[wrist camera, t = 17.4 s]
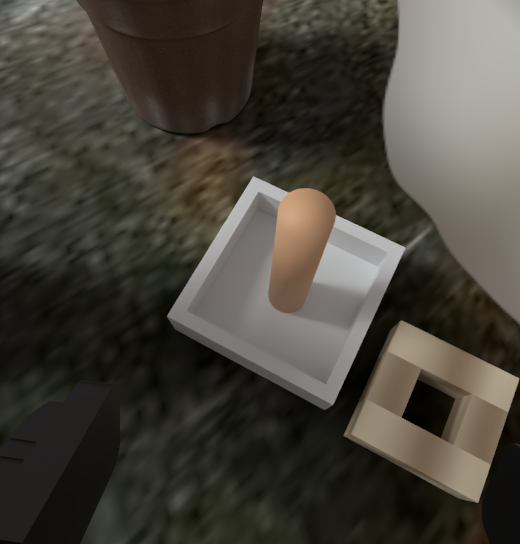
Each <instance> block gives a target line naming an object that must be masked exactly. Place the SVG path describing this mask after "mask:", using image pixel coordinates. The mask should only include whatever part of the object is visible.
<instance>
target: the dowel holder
mask: <svg viewBox="0 0 520 544" xmlns="http://www.w3.org/2000/svg"><path fill="white" fill-rule="evenodd" d="M417 379H418V380H420V381H422V382H424V383H426V384H428V385H430V386H432V387H434V388H436V389H438V390H439V391H441V392H443V393H445V394H447V395H449V396H451V397H453V398H455V401H454V404H453V406H452V409H451V412H450V415H449V417H448V420H447V423H446V425H445V428H444V431H443V433H442V436H441V438H439V437H437V436H435V435H433V434H432V433H430V432H428V431H426V430H424V429H422V428H420V427H418V426H416V425H414V424H413V423H411V422H409V421H407V420H405V419H403V418H402V415H403V413H404V410H405V408H406V405H407V403H408V401H409V398H410V396H411V393H412V391H413V388H414V386H415V383H416V381H417ZM518 381H519V378H517V377H515V376H513V375H511V374H509V373H507V372H505V371H503V370H501V369H499V368H497V367H495V366H493V365H491V364H489V363H487V362H485V361H483V360H481V359H479V358H477V357H475V356H473V355H471V354H469V353H467V352H465V351H463V350H461V349H459V348H457V347H455V346H453V345H451V344H449V343H447V342H445V341H443V340H440V339H438V338H436V337H434V336H432V335H430V334H428V333H426V332H424V331H422V330H420V329H418V328H416V327H414V326H412V325H410V324H408V323H406V322H404V321H402V320H401V321H400V322H399V323H398V324H396V325H395V326H394V327H393V328H392V329H391V330H390V332H389V334H388V336H387V339H386V341H385V343H384V345H383V348H382V350H381V352H380V354H379V357H378V359H377V361H376V363H375V366H374V368H373V370H372V372H371V375H370V377H369V379H368V381H367V384H366V386H365V388H364V390H363V393H362V395H361V397H360V399H359V402H358V404H357V406H356V409H355V411H354V413H353V415H352V418H351V420H350V422H349V424H348V427H347V429H346V431H345V433H344V436H345V437H347V438H348V439H350V440H352V441H354V442H356V443H358V444H359V445H361V446H363V447H365V448H367V449H369V450H371V451H372V452H374V453H376V454H378V455H380V456H382V457H383V458H385V459H387V460H389V461H391V462H393V463H394V464H396V465H398V466H400V467H402V468H404V469H405V470H407V471H409V472H411V473H413V474H415V475H417V476H418V477H420V478H422V479H424V480H426V481H428V482H429V483H431V484H433V485H435V486H437V487H439V488H440V489H442V490H444V491H446V492H448V493H450V494H452V495H453V496H455V497H457V498H459V499H463V500H467V501H472V502H476V503H478V502H479V499H480V496H481V493H482V490H483V487H484V484H485V481H486V478H487V475H488V472H489V469H490V466H491V463H492V460H493V457H494V454H495V451H496V448H497V445H498V442H499V439H500V436H501V433H502V430H503V427H504V424H505V421H506V418H507V415H508V412H509V409H510V406H511V403H512V400H513V397H514V394H515V391H516V387H517V384H518Z"/></svg>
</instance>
